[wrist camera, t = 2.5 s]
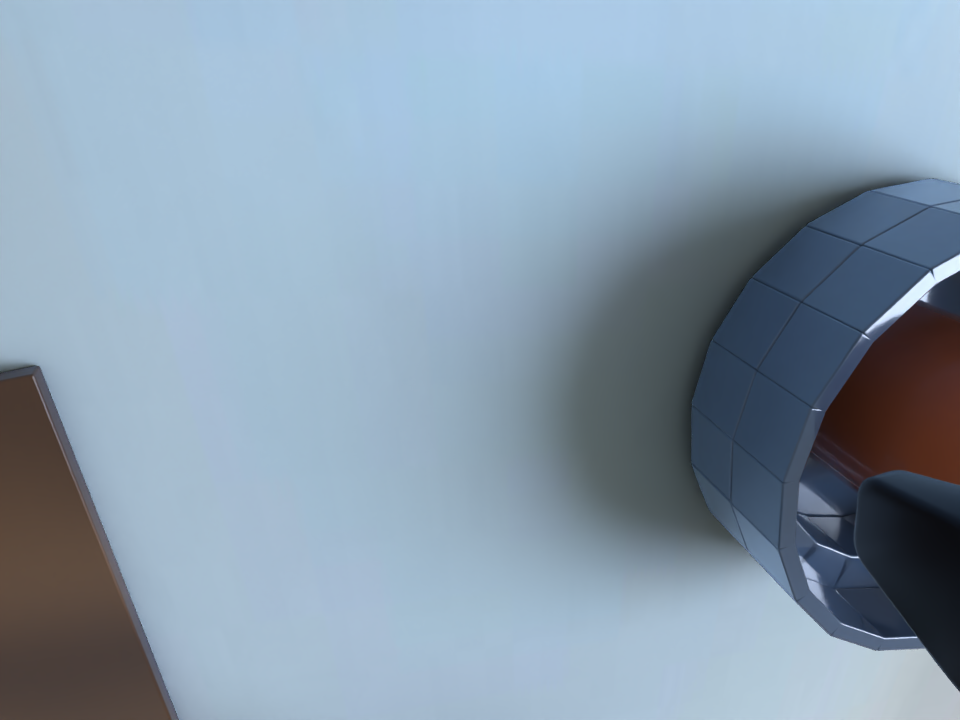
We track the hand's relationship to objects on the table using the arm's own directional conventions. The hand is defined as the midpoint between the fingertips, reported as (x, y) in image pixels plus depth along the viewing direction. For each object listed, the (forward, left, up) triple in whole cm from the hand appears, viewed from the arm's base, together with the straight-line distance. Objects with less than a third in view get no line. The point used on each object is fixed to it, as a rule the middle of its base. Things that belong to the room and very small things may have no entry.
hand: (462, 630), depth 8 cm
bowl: (-7, -16, -13) cm, 22 cm away
